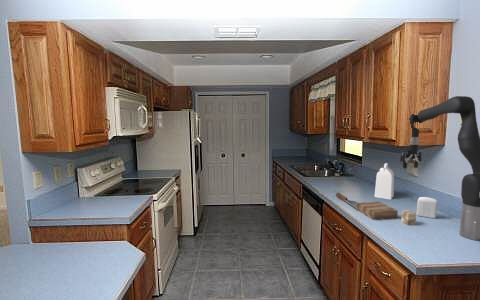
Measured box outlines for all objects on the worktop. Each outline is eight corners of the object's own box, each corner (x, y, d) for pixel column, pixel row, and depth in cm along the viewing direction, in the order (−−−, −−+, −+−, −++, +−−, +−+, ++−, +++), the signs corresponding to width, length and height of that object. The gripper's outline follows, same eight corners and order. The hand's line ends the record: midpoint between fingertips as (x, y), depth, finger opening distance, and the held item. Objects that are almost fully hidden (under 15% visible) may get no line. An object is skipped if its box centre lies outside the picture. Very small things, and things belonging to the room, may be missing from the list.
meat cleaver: (372, 211, 186) (372, 205, 185) (356, 211, 185) (356, 205, 184) (348, 196, 219) (349, 191, 219) (334, 197, 218) (335, 192, 218)
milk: (390, 199, 209) (393, 165, 206) (374, 196, 216) (376, 164, 213) (393, 195, 219) (395, 163, 216) (377, 193, 226) (379, 161, 223)
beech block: (415, 224, 161) (416, 213, 160) (407, 225, 161) (408, 213, 160) (408, 221, 166) (409, 210, 165) (401, 221, 165) (402, 210, 165)
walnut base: (397, 218, 171) (397, 210, 170) (373, 219, 169) (373, 211, 168) (378, 208, 189) (378, 201, 188) (356, 209, 186) (357, 202, 186)
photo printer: (435, 216, 173) (437, 197, 172) (436, 219, 170) (438, 199, 168) (416, 214, 178) (417, 195, 177) (416, 216, 175) (417, 197, 173)
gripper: (407, 144, 177) (405, 169, 179) (425, 143, 180) (424, 168, 182) (398, 143, 185) (396, 167, 186) (416, 142, 188) (414, 166, 190)
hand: (410, 167), depth 184 cm, fingers open, 8 cm apart
